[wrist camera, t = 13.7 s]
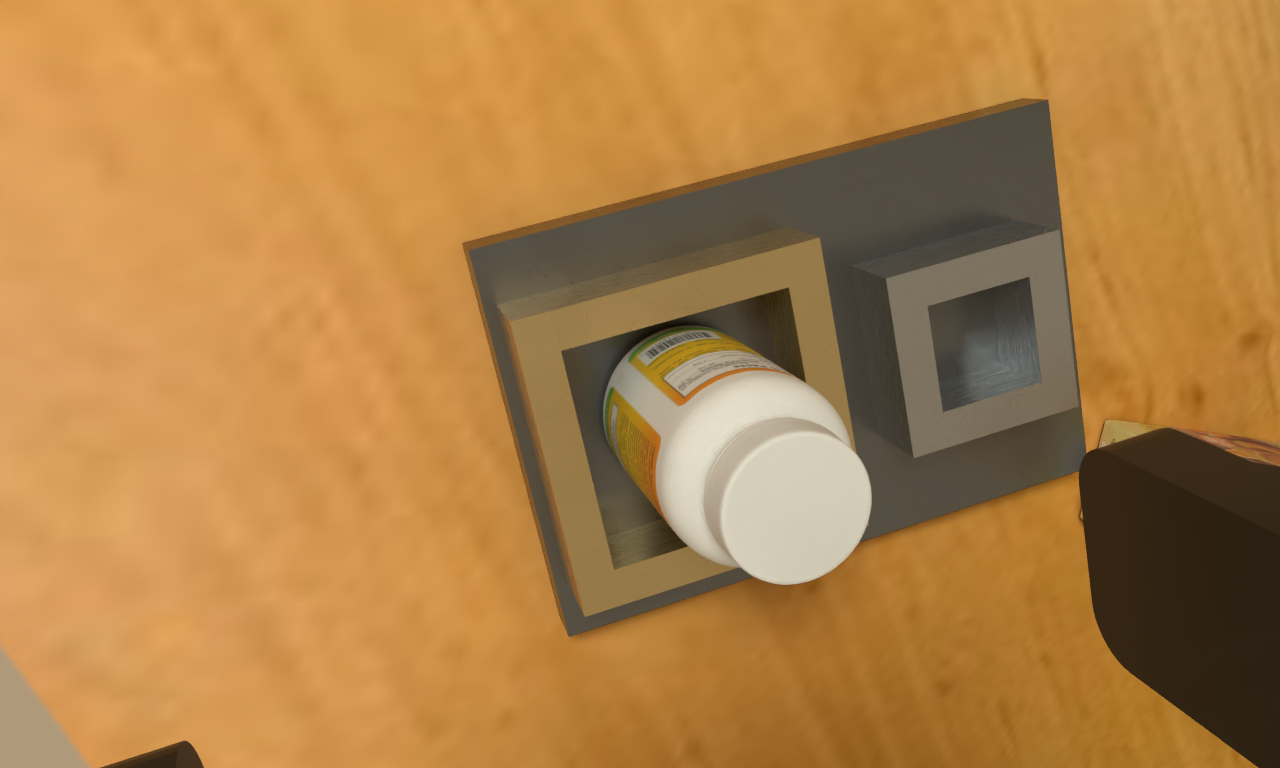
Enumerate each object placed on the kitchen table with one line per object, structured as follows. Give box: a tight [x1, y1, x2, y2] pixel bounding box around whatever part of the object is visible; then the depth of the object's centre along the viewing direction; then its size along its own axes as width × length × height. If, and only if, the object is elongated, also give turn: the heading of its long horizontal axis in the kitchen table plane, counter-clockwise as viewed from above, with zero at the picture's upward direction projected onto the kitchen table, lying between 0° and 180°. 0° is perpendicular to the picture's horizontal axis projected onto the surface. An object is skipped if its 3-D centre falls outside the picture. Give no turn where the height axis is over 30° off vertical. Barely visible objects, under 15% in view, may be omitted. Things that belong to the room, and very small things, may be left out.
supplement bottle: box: [603, 326, 872, 585], centre depth 34 cm, size 5×5×10 cm
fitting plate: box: [462, 98, 1086, 637], centre depth 39 cm, size 19×13×4 cm
